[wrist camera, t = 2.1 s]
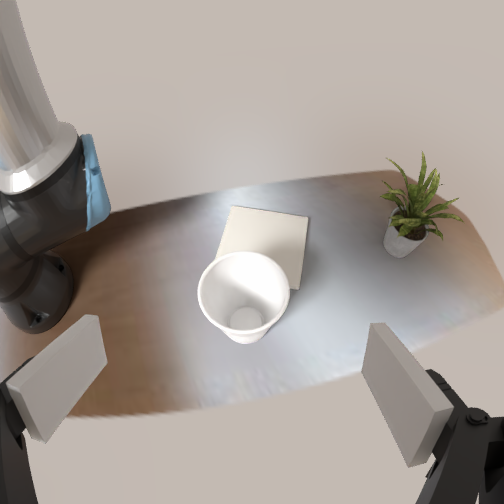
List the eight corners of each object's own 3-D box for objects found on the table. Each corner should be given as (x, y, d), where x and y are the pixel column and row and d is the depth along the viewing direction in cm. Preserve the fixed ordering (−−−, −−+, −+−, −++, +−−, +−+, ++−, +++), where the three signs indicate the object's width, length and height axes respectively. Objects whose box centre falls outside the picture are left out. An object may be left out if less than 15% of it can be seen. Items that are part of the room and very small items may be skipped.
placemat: (212, 274, 46) (211, 271, 45) (232, 209, 53) (231, 205, 52) (298, 290, 45) (299, 286, 44) (307, 221, 52) (308, 217, 51)
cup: (212, 291, 45) (201, 250, 35) (280, 291, 45) (287, 249, 35) (208, 357, 39) (194, 332, 30) (283, 357, 39) (292, 332, 30)
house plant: (353, 203, 54) (376, 131, 40) (418, 213, 53) (453, 149, 39) (358, 271, 46) (395, 201, 33) (432, 278, 45) (483, 218, 32)
